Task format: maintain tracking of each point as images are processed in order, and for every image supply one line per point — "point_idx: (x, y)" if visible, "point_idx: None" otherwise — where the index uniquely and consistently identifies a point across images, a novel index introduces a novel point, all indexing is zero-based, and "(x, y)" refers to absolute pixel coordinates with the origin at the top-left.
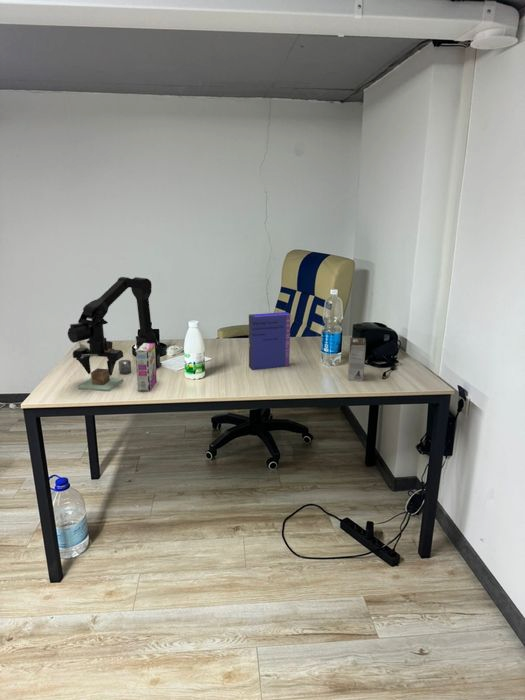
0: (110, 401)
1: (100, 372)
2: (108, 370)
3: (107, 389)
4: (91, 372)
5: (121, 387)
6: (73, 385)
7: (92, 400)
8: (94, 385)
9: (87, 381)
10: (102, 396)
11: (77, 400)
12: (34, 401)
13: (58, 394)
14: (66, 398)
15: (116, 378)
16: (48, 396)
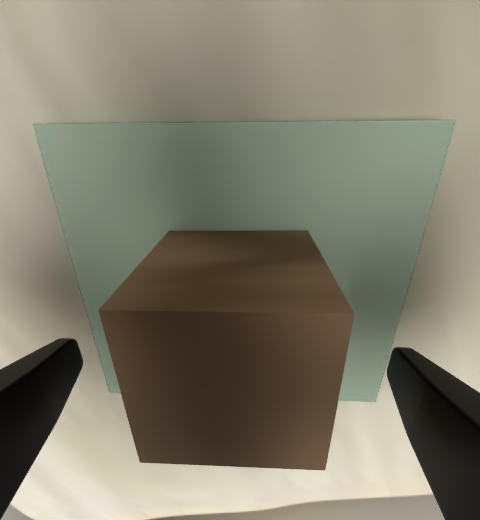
0: (428, 491)
1: (275, 450)
2: (437, 500)
3: (363, 400)
4: (147, 461)
5: (456, 310)
6: (29, 331)
7: (316, 489)
8: None
9: (91, 286)
10: (353, 450)
11: (234, 494)
12: (39, 512)
13: (72, 452)
14: (159, 483)
15: (359, 138)
16: (46, 473)
